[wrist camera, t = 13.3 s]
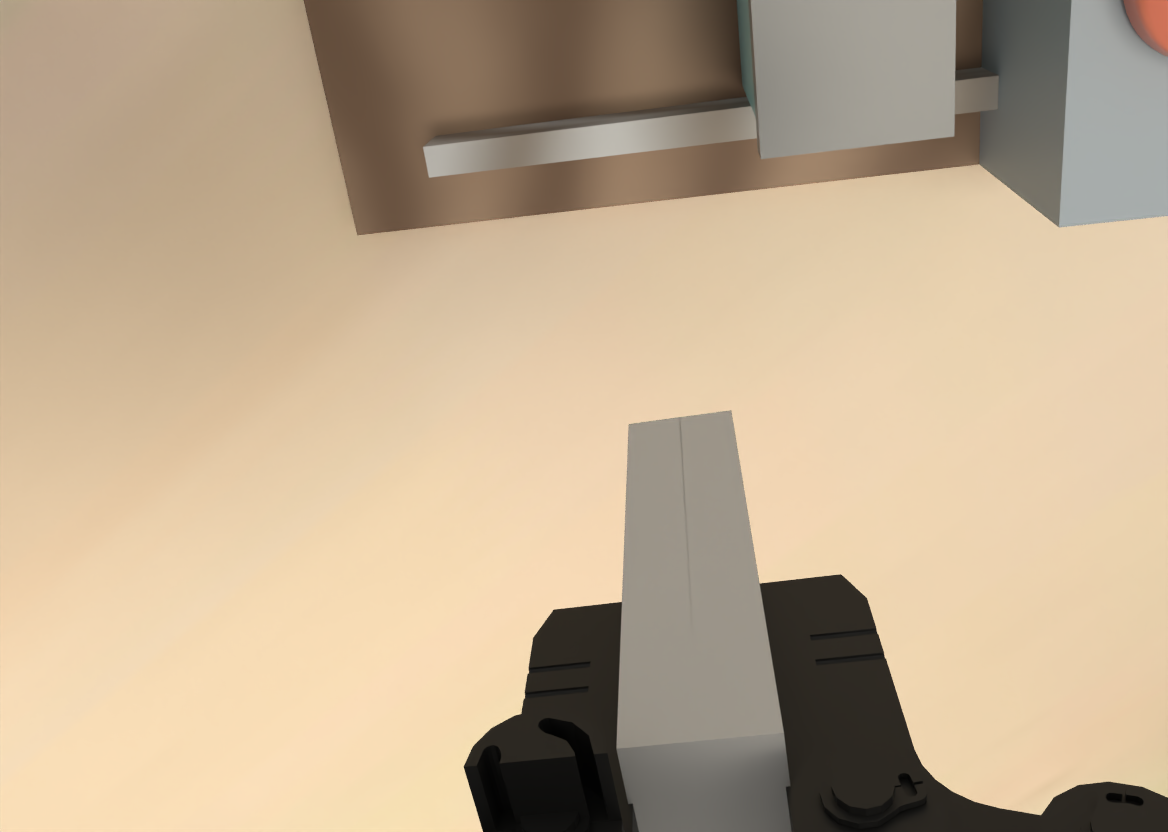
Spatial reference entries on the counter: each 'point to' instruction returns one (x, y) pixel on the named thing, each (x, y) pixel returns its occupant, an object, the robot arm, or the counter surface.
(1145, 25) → the button
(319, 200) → the counter surface
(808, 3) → the carriage
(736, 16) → the rail track
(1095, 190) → the cabinet
